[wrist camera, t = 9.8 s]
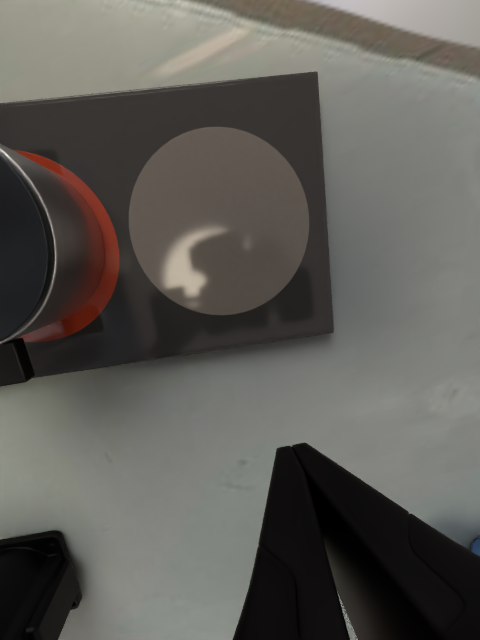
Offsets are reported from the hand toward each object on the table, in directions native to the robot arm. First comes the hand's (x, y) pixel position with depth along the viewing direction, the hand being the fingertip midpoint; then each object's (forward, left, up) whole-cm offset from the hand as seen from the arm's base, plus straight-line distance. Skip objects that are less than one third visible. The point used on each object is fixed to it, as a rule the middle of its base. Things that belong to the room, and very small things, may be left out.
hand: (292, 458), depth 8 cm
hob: (-6, +7, -11) cm, 15 cm away
